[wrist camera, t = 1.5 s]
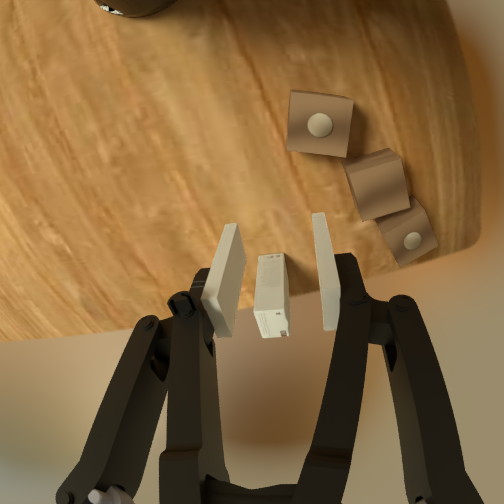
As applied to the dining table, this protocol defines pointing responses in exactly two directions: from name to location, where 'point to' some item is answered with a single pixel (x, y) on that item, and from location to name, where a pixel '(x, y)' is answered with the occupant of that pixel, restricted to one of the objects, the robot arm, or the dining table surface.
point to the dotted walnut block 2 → (407, 232)
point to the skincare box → (272, 296)
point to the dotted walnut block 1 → (318, 123)
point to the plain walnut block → (377, 184)
